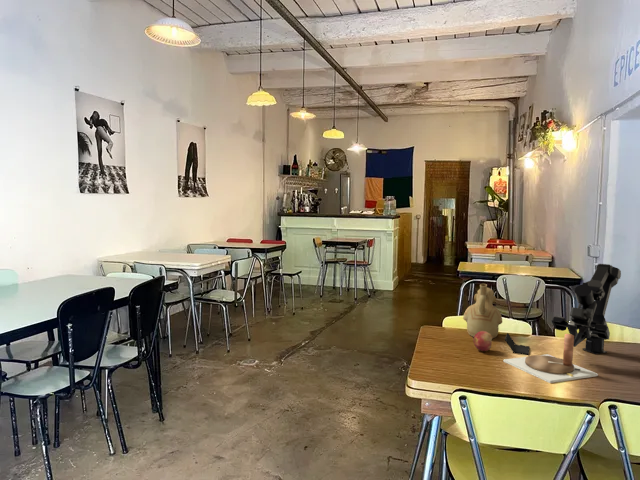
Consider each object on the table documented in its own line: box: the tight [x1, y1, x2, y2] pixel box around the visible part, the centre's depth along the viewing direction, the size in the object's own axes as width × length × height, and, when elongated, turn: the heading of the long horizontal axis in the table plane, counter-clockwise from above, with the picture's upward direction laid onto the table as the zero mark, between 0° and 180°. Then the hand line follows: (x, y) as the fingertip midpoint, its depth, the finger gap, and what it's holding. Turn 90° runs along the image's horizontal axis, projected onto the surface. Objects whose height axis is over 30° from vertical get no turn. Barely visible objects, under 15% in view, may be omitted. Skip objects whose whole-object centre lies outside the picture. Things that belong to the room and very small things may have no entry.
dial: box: [525, 333, 575, 374], centre depth 167 cm, size 16×16×12 cm
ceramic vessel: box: [462, 283, 503, 339], centre depth 209 cm, size 17×20×25 cm
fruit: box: [472, 331, 493, 352], centre depth 187 cm, size 8×8×8 cm
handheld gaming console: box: [504, 332, 531, 356], centre depth 189 cm, size 12×7×10 cm
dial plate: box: [502, 353, 599, 384], centre depth 168 cm, size 22×22×1 cm
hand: (573, 345), depth 169 cm, fingers closed
